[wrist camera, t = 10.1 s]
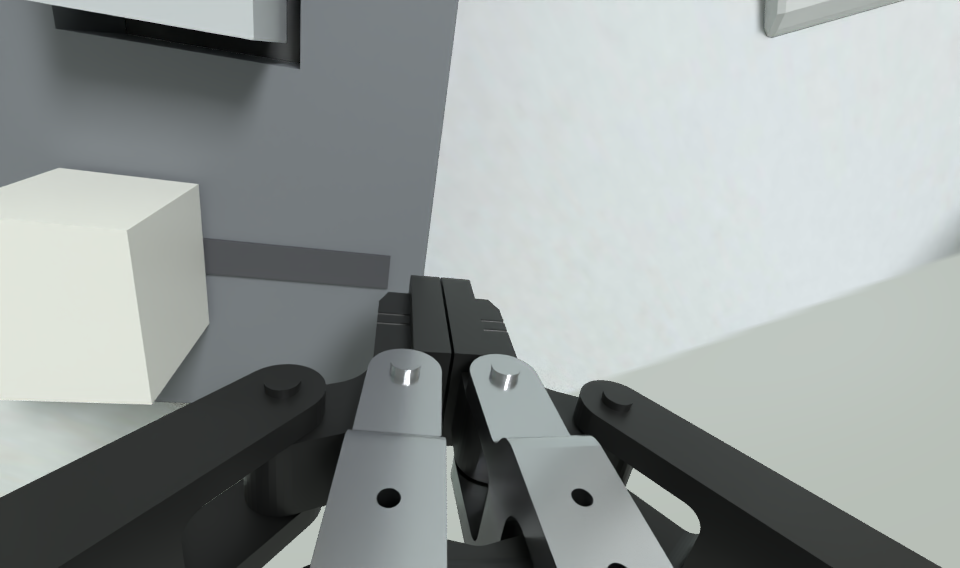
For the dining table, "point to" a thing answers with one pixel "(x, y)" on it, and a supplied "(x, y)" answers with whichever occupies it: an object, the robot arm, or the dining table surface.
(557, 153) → the dining table surface
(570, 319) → the dining table surface
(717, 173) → the dining table surface
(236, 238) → the panel
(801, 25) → the light switch
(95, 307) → the cream slider
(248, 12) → the grey button
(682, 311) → the dining table surface
